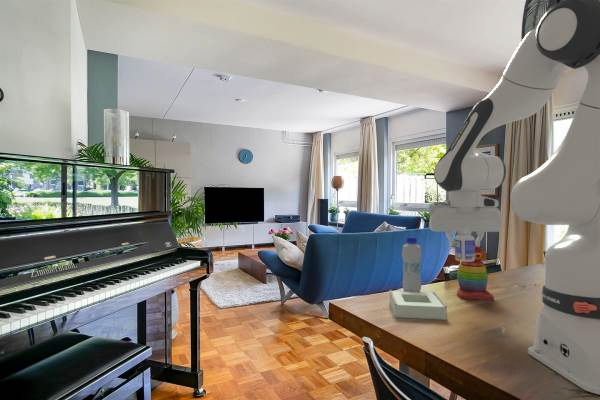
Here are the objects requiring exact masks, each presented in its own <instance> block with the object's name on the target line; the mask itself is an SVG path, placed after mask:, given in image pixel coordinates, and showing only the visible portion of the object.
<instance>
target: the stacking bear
mask: <svg viewBox="0 0 600 400" xmlns="http://www.w3.org/2000/svg"><path fill="white" fill-rule="evenodd" d="M484 255H485V253H484V249H483V248H482V245H481V244H480V247H475V260H474V261H472V262H464V261H460V263H459V264H458V269H457V273H456V276H457V277H456V278H457V282H458V286H459V288H457V289H458V290H457V291H456V292H457V293H456V295H457V297H458V298H460V299H461V300H483V301H493V300H494V297H495V296H494V295H493V293H491V292H489V291H488V290H487V287H488V286H487V285H488V281H489V280H488V279H489V277H488V275H489V274H488V271H487V267H486V265H485V263H484V261H482V260H483V259H484V257H485V256H484Z"/></svg>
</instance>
